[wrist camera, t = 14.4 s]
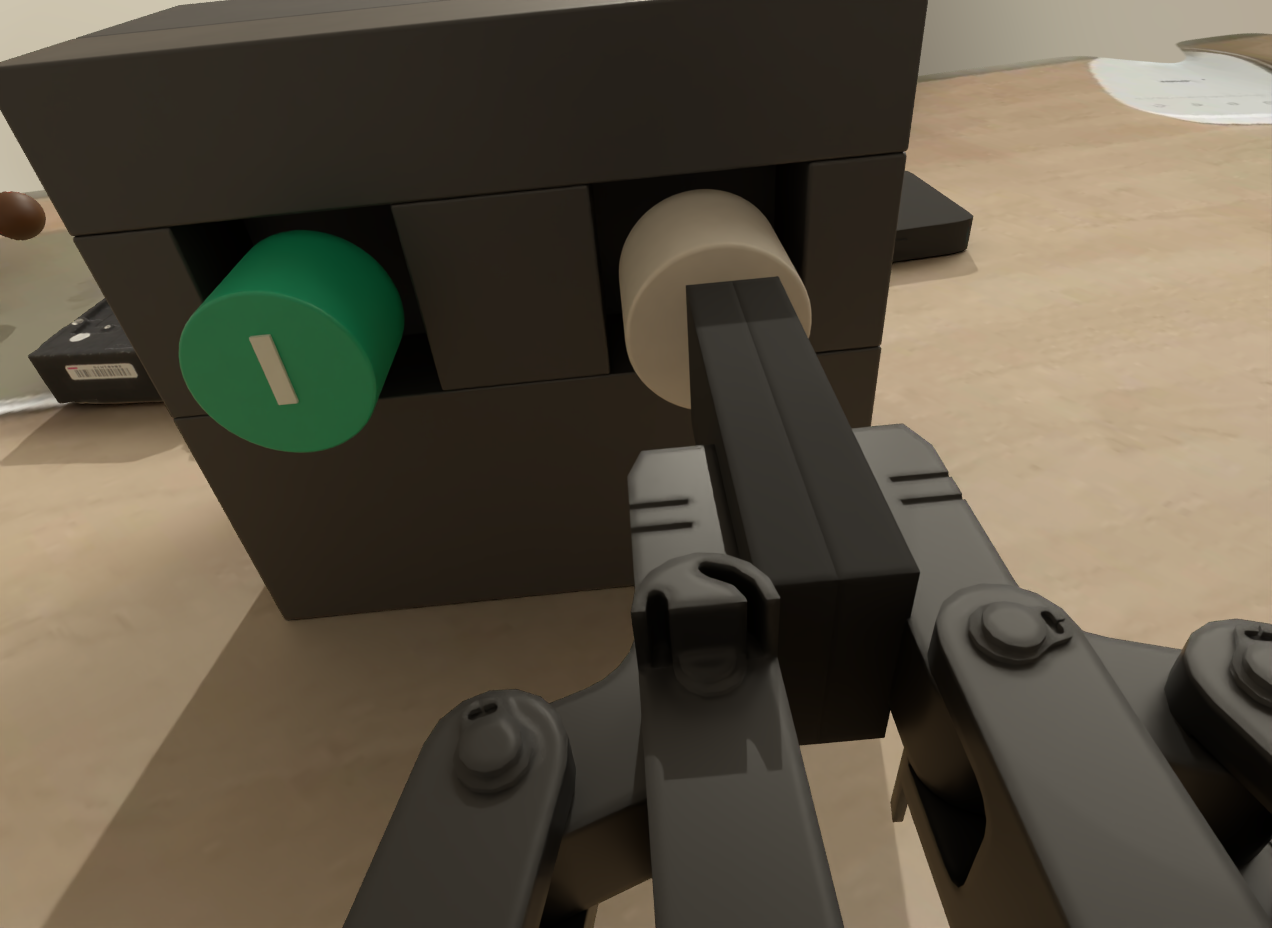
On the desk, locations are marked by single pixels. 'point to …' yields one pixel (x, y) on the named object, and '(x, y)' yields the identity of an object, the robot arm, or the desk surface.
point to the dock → (469, 242)
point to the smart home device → (928, 222)
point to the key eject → (692, 277)
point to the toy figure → (20, 216)
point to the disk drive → (93, 362)
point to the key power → (294, 342)
